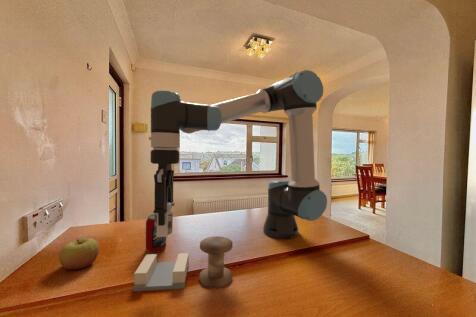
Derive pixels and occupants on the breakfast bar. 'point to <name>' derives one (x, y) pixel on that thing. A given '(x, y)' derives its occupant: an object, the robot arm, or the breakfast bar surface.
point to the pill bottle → (170, 219)
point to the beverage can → (153, 237)
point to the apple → (79, 253)
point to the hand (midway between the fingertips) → (164, 232)
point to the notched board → (161, 273)
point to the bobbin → (215, 262)
